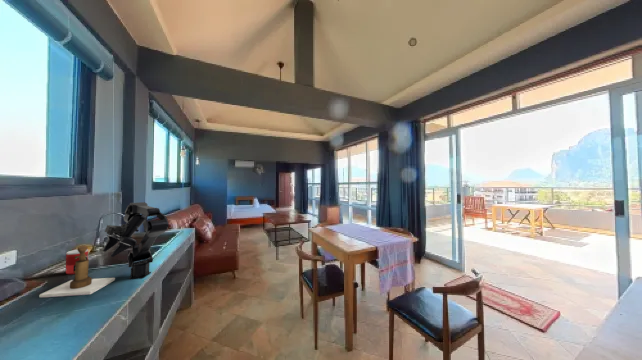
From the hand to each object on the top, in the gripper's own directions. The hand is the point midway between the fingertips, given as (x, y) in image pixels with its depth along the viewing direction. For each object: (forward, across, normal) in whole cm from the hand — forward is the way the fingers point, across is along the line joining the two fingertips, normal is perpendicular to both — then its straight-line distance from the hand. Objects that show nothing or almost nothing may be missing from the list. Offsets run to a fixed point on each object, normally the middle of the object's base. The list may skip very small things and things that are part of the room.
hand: (107, 253), depth 102 cm
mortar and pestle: (+15, +1, 0) cm, 15 cm away
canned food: (+15, -25, +6) cm, 30 cm away
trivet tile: (+16, +1, 0) cm, 16 cm away
